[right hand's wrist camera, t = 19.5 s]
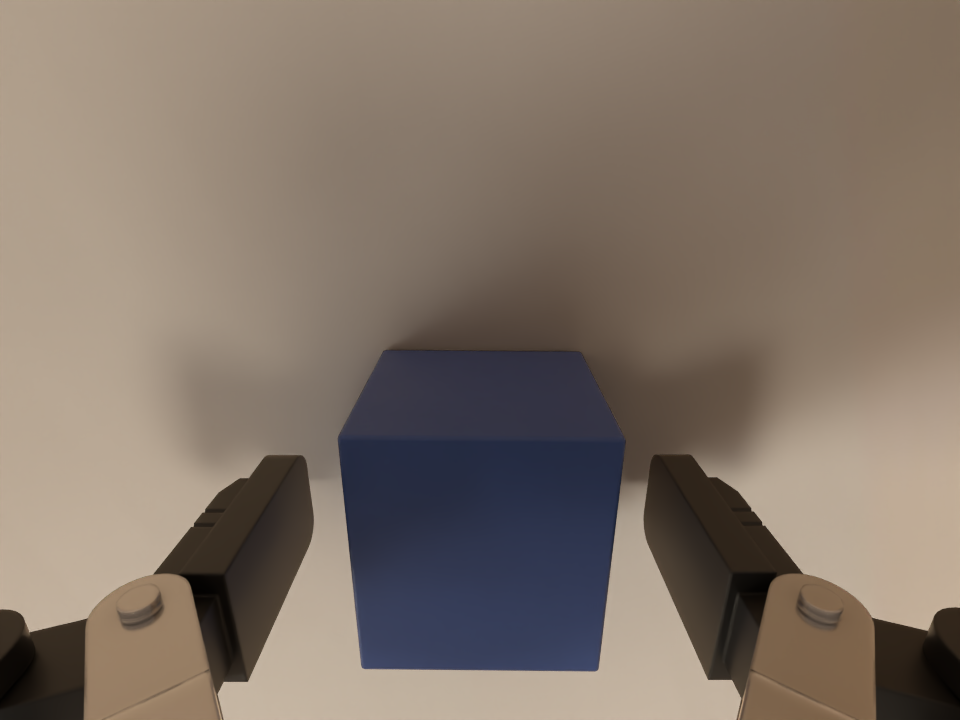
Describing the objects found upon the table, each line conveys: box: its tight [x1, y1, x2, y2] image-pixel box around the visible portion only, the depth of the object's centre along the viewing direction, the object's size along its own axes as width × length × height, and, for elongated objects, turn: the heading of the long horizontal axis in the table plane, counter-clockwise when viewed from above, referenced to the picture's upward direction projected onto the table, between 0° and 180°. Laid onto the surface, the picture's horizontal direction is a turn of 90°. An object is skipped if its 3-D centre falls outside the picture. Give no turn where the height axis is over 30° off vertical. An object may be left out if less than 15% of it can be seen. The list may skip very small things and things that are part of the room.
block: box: [338, 350, 626, 671], centre depth 11 cm, size 5×5×4 cm
